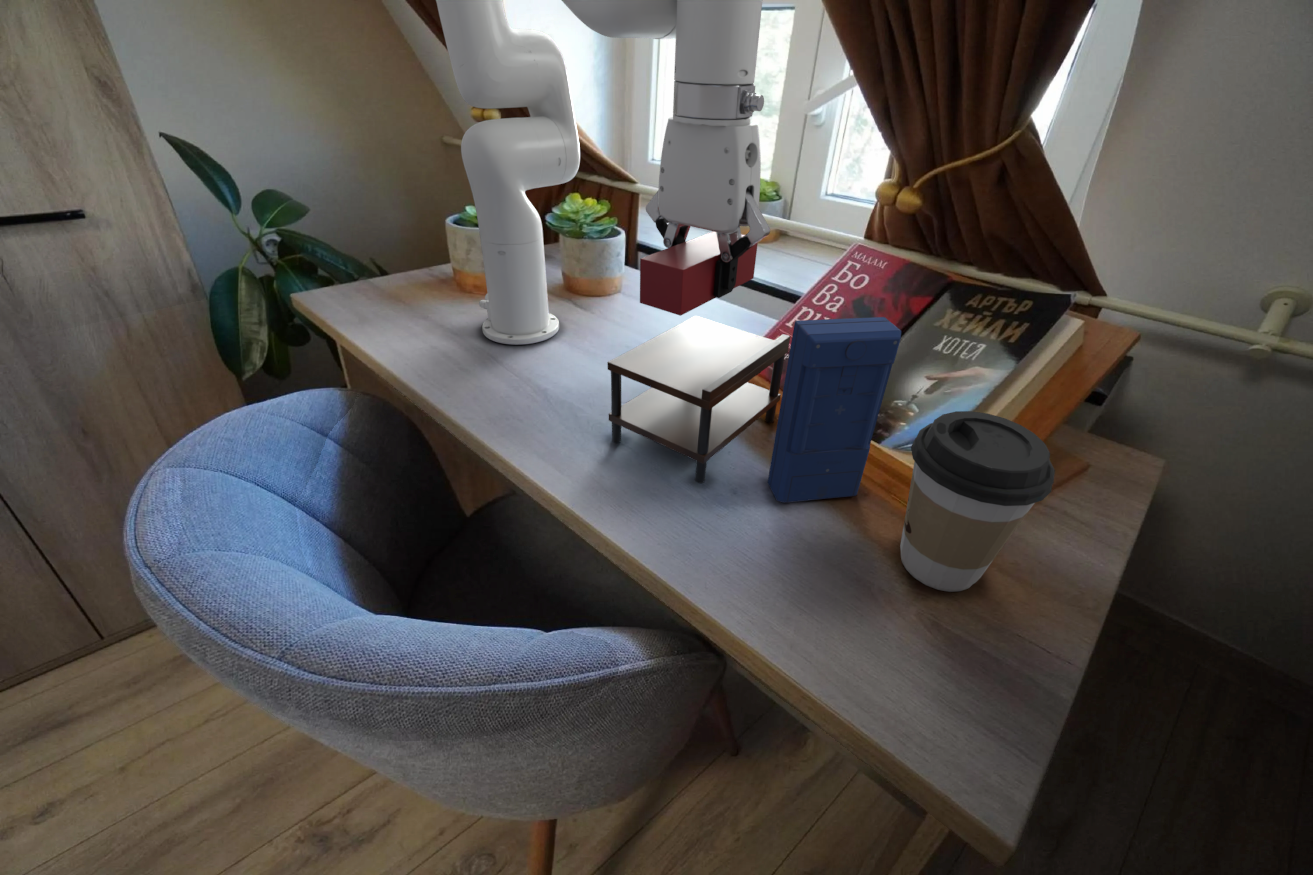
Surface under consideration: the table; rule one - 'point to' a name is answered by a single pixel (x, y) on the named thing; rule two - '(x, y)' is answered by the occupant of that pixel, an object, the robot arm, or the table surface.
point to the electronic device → (830, 406)
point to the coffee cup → (969, 495)
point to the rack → (697, 387)
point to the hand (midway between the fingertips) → (700, 286)
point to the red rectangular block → (687, 274)
